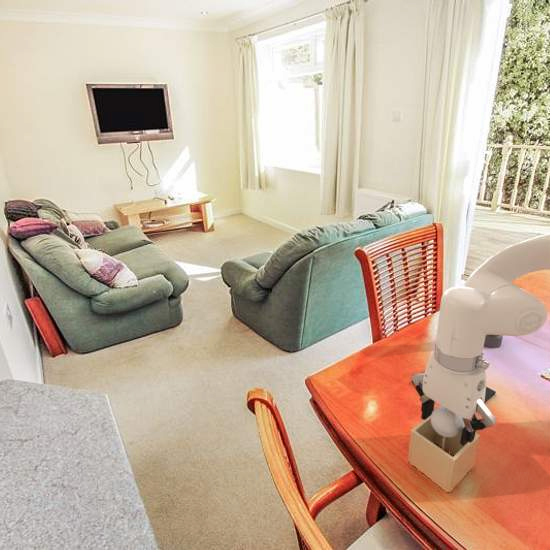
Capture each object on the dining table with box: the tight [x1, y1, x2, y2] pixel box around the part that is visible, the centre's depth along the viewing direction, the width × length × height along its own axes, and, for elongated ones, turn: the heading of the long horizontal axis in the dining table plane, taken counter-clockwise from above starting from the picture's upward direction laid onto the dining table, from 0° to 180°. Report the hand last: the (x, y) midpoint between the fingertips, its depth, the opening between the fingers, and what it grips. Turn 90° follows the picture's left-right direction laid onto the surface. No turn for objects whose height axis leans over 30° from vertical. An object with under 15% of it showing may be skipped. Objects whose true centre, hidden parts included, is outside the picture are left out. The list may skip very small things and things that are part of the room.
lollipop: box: [431, 405, 465, 451], centre depth 75 cm, size 6×6×15 cm
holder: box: [407, 416, 481, 493], centre depth 76 cm, size 9×9×9 cm
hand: (445, 427), depth 74 cm, fingers open, 7 cm apart
